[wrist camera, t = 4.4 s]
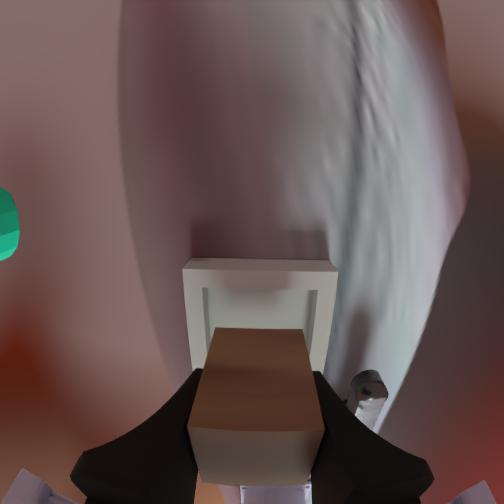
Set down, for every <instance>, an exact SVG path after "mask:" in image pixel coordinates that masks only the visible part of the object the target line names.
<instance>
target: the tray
mask: <svg viewBox="0 0 504 504" xmlns="http://www.w3.org/2000/svg"><path fill="white" fill-rule="evenodd" d="M182 270H183V284H184V296H185V307H186V317H187V327H188V336H189V345H190V353H191V361H192V368H193V371H194V370H195V369H196V368H204V364H205V361H206V357H207V354H208V351H209V347H210V344H211V340H212V337H213V333H214V330H215V327H225V328H254V329H303V333H304V337H305V342H306V346H307V350H308V355H309V359H310V363H311V368H312V371H320V372H321V373H322V375H323V371H324V365H325V360H326V355H327V349H328V343H329V337H330V331H331V325H332V318H333V311H334V304H335V296H336V288H337V280H338V271H337V269H336V268H335V266H334V265H333V264H332V262H331V261H330V260H284V259H233V258H191V259H190V260H189V261H188V262H187V264H186V265H185V266H184V267H183V269H182Z"/></svg>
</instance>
